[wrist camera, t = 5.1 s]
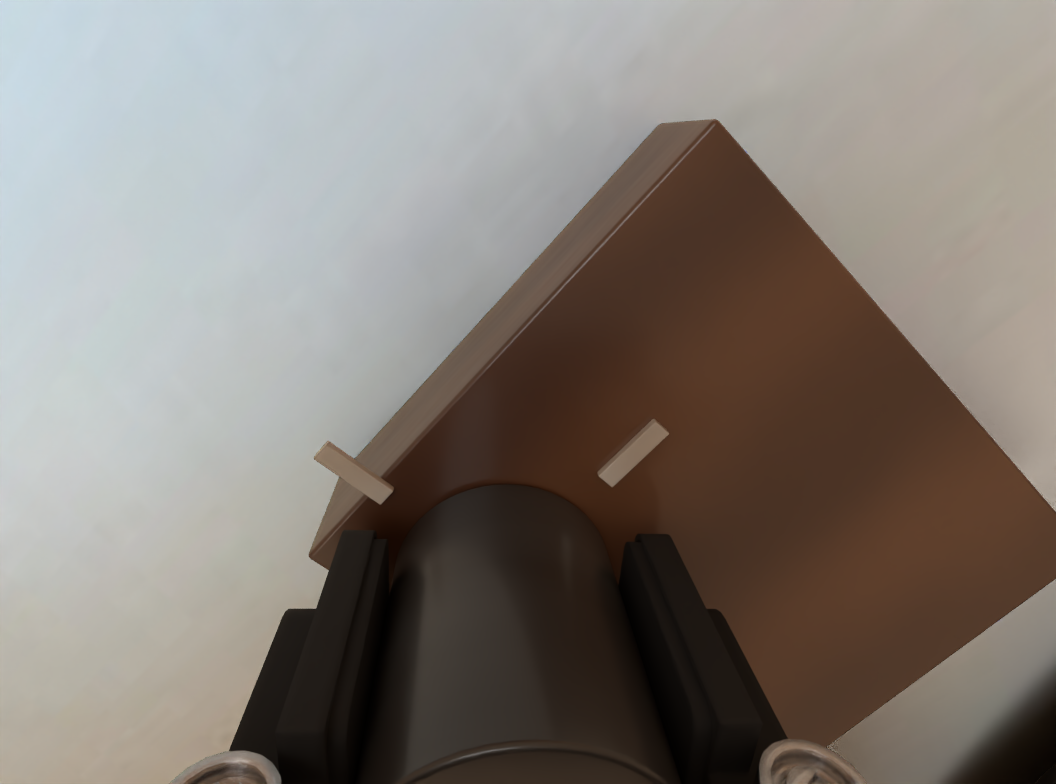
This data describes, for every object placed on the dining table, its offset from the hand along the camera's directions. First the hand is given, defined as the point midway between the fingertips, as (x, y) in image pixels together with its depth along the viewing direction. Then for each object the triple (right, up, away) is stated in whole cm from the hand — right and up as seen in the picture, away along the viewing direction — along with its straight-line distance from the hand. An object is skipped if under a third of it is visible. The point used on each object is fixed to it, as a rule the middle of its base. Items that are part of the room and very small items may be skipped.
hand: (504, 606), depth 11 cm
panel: (+3, +1, +4) cm, 5 cm away
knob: (0, 0, +1) cm, 1 cm away
